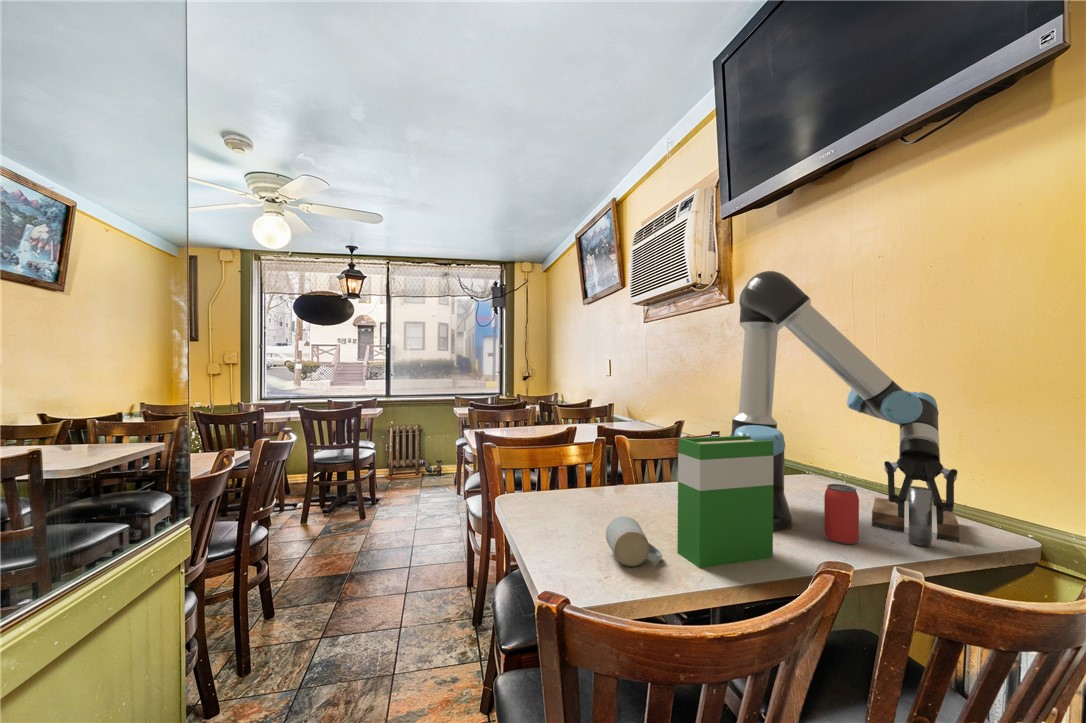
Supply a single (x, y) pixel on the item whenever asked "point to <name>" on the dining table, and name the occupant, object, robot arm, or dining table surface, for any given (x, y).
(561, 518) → the dining table surface
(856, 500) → the beer can
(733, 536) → the cereal box
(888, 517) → the socket block
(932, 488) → the robot arm
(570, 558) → the dining table surface
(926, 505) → the steel pin
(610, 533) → the ceramic mug
